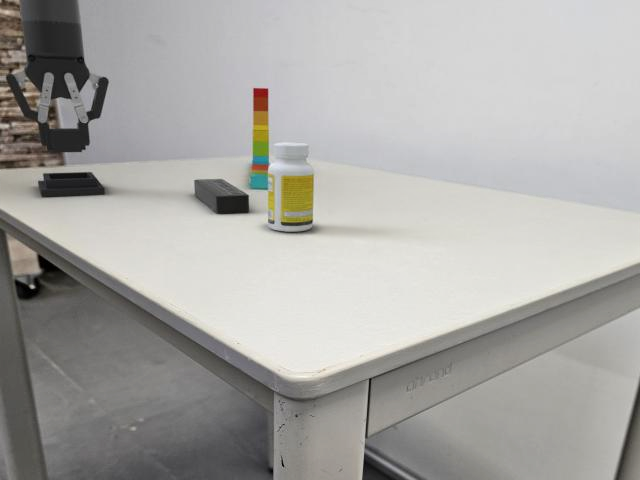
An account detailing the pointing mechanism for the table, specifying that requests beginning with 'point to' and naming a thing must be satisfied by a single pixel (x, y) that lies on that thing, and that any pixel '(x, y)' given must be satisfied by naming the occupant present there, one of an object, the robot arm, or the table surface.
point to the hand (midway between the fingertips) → (66, 149)
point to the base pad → (70, 184)
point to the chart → (260, 140)
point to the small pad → (65, 140)
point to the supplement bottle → (290, 188)
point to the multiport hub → (221, 196)
